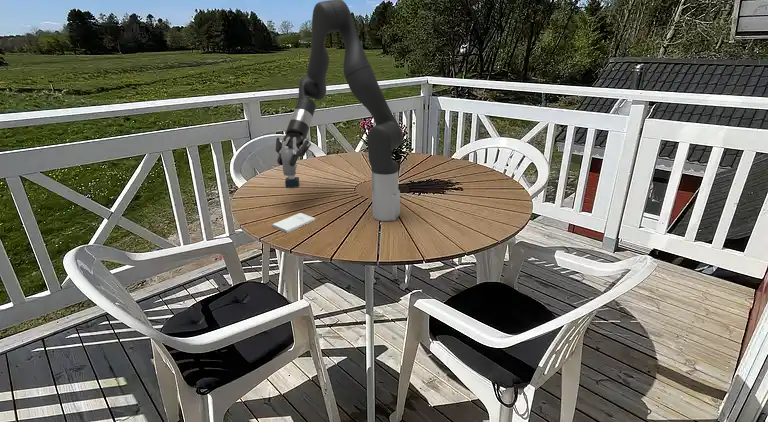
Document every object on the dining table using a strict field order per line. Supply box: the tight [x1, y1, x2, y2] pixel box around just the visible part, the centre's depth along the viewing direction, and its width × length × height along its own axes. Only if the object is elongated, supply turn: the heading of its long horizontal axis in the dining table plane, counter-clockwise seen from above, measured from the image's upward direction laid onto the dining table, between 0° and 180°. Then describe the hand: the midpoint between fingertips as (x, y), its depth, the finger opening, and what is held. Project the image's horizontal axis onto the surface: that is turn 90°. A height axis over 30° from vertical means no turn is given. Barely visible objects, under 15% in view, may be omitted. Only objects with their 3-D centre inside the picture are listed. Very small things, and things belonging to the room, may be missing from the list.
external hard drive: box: [271, 212, 316, 234], centre depth 137 cm, size 2×8×12 cm
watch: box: [284, 163, 300, 189], centre depth 171 cm, size 6×8×11 cm
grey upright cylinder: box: [281, 146, 297, 177], centre depth 142 cm, size 4×4×10 cm
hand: (285, 164), depth 141 cm, fingers closed on grey upright cylinder, 4 cm apart
